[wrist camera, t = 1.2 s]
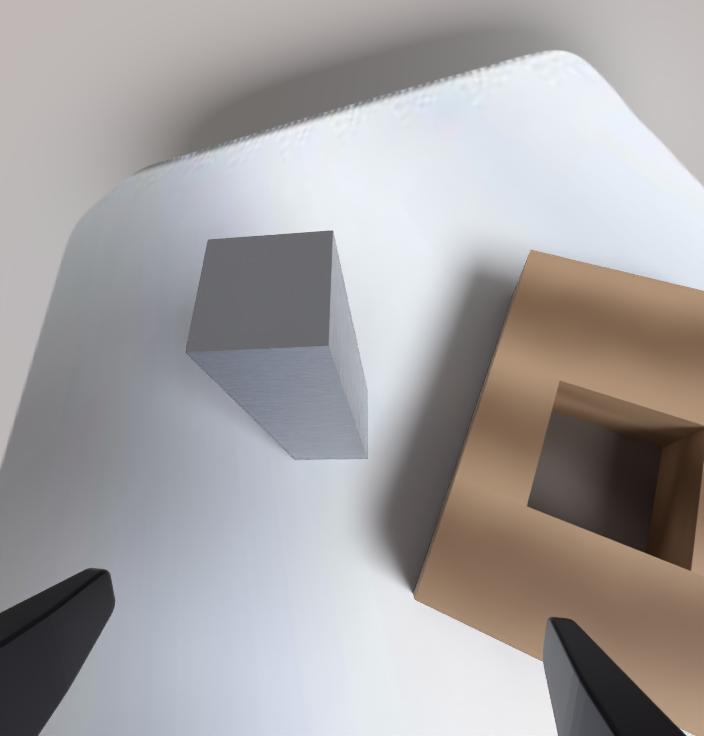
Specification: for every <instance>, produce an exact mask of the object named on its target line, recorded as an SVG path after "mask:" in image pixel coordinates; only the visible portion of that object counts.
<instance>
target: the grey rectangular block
mask: <svg viewBox="0 0 704 736" xmlns="http://www.w3.org/2000/svg"><path fill="white" fill-rule="evenodd" d="M186 353H187V354H188V355H189V356H190V357H191V358H192V359H193V360H194V361H195V362H196V363H197V364H198V365H199V366H200V367H201V368H202V369H203V370H204V371H205V372H206V373H207V374H208V375H209V376H210V377H211V378H212V379H213V380H214V381H215V382H216V383H217V384H218V385H219V386H220V387H221V388H223V389H224V390H225V391H226V392H227V393H228V394H229V395H230V396H231V397H232V398H233V399H234V400H235V401H236V402H237V403H238V404H239V405H240V406H241V407H242V408H243V409H244V410H245V411H246V412H247V413H248V414H249V415H250V416H251V417H252V418H253V419H254V420H255V421H256V422H257V423H258V424H259V425H260V426H261V427H262V428H263V429H264V430H265V431H266V432H267V433H268V434H270V435H271V436H272V437H273V438H274V439H275V440H276V441H277V442H278V443H279V444H280V445H281V446H282V447H283V448H284V449H285V450H286V451H287V452H288V453H289V454H290V455H291V456H292V457H293V458H294V459H295V460H311V459H368V443H367V387H366V382H365V377H364V373H363V368H362V363H361V359H360V354H359V349H358V345H357V340H356V335H355V331H354V326H353V321H352V317H351V312H350V307H349V303H348V298H347V293H346V289H345V284H344V279H343V275H342V270H341V265H340V261H339V256H338V251H337V247H336V242H335V237H334V233H333V231H320V232H306V233H292V234H279V235H265V236H252V237H238V238H225V239H211V240H208V242H207V247H206V252H205V257H204V262H203V267H202V272H201V277H200V282H199V287H198V292H197V297H196V302H195V307H194V312H193V317H192V322H191V327H190V332H189V337H188V342H187V347H186Z"/></svg>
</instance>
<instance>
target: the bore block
mask: <svg viewBox="0 0 704 736" xmlns="http://www.w3.org/2000/svg"><path fill="white" fill-rule="evenodd" d="M413 595H414V598H415V600H417V601H419V602H421V603H423V604H425V605H427V606H429V607H431V608H433V609H435V610H437V611H439V612H442V613H444V614H446V615H448V616H450V617H452V618H454V619H456V620H458V621H460V622H462V623H464V624H466V625H468V626H470V627H472V628H475V629H477V630H479V631H481V632H483V633H485V634H487V635H489V636H491V637H493V638H495V639H497V640H499V641H501V642H503V643H505V644H508V645H510V646H512V647H514V648H516V649H518V650H520V651H522V652H524V653H526V654H528V655H530V656H532V657H534V658H536V659H538V660H541V661H543V645H544V638H545V630H546V623H547V620H548V618H550V617H560V618H569V619H572V620H573V621H575V622H576V623H577V624H578V625H579V626H580V627H581V628H582V629H583V630H584V631H585V632H586V633H587V634H588V635H589V637H590V638H591V639H592V640H593V641H594V642H595V643H596V644H597V645H598V646H599V647H600V648H601V649H602V650H603V651H604V652H605V653H606V654H607V655H608V656H609V657H610V658H611V659H612V660H613V661H614V662H615V663H616V664H617V665H618V666H619V667H620V668H621V669H622V670H623V671H624V672H625V673H626V674H627V675H628V676H629V677H630V678H631V680H632V681H633V682H634V683H635V684H636V685H637V686H638V687H639V688H640V689H641V690H642V691H643V692H644V693H645V694H646V695H647V696H648V697H649V698H650V699H651V700H652V701H653V702H654V703H655V704H656V705H657V706H658V707H659V708H660V709H661V710H662V711H663V712H664V713H665V714H666V715H667V716H668V717H669V718H670V719H671V720H672V721H673V722H674V724H675V725H676V726H677V727H679V728H681V729H683V730H685V731H687V732H689V733H691V734H693V735H695V736H704V291H702V290H698V289H693V288H689V287H685V286H681V285H676V284H672V283H668V282H664V281H660V280H655V279H651V278H647V277H643V276H639V275H634V274H630V273H626V272H622V271H618V270H613V269H609V268H605V267H601V266H597V265H592V264H588V263H584V262H580V261H576V260H571V259H567V258H563V257H559V256H555V255H550V254H546V253H542V252H538V251H534V250H530V253H529V255H528V258H527V260H526V263H525V266H524V268H523V271H522V273H521V276H520V278H519V281H518V283H517V286H516V288H515V291H514V293H513V296H512V299H511V302H510V305H509V308H508V311H507V314H506V317H505V320H504V323H503V326H502V329H501V332H500V335H499V338H498V341H497V344H496V347H495V350H494V353H493V356H492V359H491V362H490V365H489V368H488V371H487V374H486V377H485V380H484V383H483V386H482V389H481V392H480V395H479V398H478V401H477V404H476V407H475V410H474V413H473V416H472V419H471V422H470V425H469V428H468V431H467V434H466V437H465V440H464V443H463V446H462V449H461V452H460V455H459V458H458V461H457V464H456V467H455V470H454V473H453V476H452V479H451V482H450V485H449V488H448V491H447V494H446V497H445V500H444V503H443V506H442V509H441V512H440V515H439V518H438V521H437V524H436V527H435V530H434V533H433V536H432V539H431V542H430V545H429V548H428V551H427V554H426V557H425V560H424V563H423V566H422V569H421V572H420V575H419V578H418V581H417V584H416V587H415V590H414V593H413Z"/></svg>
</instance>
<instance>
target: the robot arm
mask: <svg viewBox="0 0 704 736" xmlns="http://www.w3.org/2000/svg"><path fill="white" fill-rule="evenodd" d="M114 606H115V596H114V591H113V585H112V580H111V575H110V573H109V572H108V570H105V569H97V568H89V569H86V570H84V571H82V572H80V573H78V574H76V575H74V576H72V577H70V578H68V579H66V580H64V581H62V582H60V583H58V584H56V585H54V586H52V587H50V588H48V589H46V590H44V591H42V592H40V593H39V594H37V595H35V596H33V597H31V598H29V599H27V600H25V601H23V602H21V603H19V604H17V605H15V606H13V607H11V608H9V609H7V610H5V611H3V612H1V613H0V736H38V735H39V733H40V732H41V731H42V729H43V728H44V726H45V725H46V723H47V722H48V720H49V719H50V717H51V716H52V714H53V713H54V711H55V710H56V708H57V707H58V705H59V704H60V702H61V701H62V699H63V697H64V696H65V694H66V693H67V691H68V690H69V688H70V686H71V685H72V683H73V681H74V680H75V678H76V676H77V675H78V673H79V671H80V669H81V667H82V666H83V664H84V662H85V660H86V659H87V657H88V655H89V653H90V651H91V650H92V648H93V646H94V644H95V643H96V641H97V639H98V637H99V636H100V634H101V632H102V630H103V628H104V627H105V625H106V623H107V621H108V620H109V618H110V616H111V614H112V612H113V609H114ZM543 664H544V669H545V674H546V679H547V684H548V689H549V693H550V698H551V703H552V708H553V713H554V718H555V722H556V727H557V732H558V736H686V735H685V734H684V733H683V732H682V731H681V730H680V729H679V728H678V727H677V726H676V725H675V724H674V722H673V721H672V720H671V719H670V718H669V717H668V716H667V715H666V714H665V713H664V712H663V711H662V710H661V709H660V708H659V707H658V706H657V705H656V704H655V703H654V702H653V701H652V700H651V699H650V698H649V697H648V696H647V695H646V694H645V693H644V692H643V691H642V690H641V689H640V688H639V687H638V686H637V685H636V684H635V683H634V682H633V681H632V680H631V678H630V677H629V676H628V675H627V674H626V673H625V672H624V671H623V670H622V669H621V668H620V667H619V666H618V665H617V664H616V663H615V662H614V661H613V660H612V659H611V658H610V657H609V656H608V655H607V654H606V653H605V652H604V651H603V650H602V649H601V648H600V647H599V646H598V645H597V644H596V643H595V642H594V641H593V640H592V639H591V638H590V637H589V635H588V634H587V633H586V632H585V631H584V630H583V629H582V628H581V627H580V626H579V625H578V624H577V623H576V622H575V621H573V620H572V619H569V618H560V617H550V618H548V620H547V623H546V630H545V638H544V645H543Z"/></svg>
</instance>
